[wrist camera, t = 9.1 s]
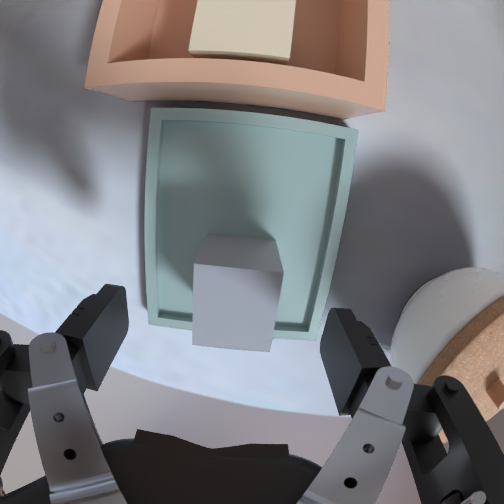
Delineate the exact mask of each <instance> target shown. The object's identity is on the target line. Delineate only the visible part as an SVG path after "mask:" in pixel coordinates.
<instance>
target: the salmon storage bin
mask: <svg viewBox="0 0 504 504" xmlns="http://www.w3.org/2000/svg"><path fill="white" fill-rule="evenodd" d="M197 2H198V0H103V2H102V5H101V9H100V13H99V16H98V20H97V24H96V28H95V32H94V36H93V41H92V46H91V50H90V55H89V61H88V66H87V72H86V79H85V85H84V88H86V89H90V90H94V91H98V92H101V93H105V94H109V95H112V96H116V97H119V98H122V99H126V100H129V101H207V102H224V103H237V104H248V105H258V106H266V107H274V108H282V109H289V110H295V111H302V112H308V113H313V114H319V115H324V116H329V117H334V118H339V119H348V118H353V117H357V116H362V115H367V114H372V113H377V112H382V111H385V106H386V94H387V80H388V62H389V0H296V5H295V14H294V24H293V34H292V43H291V52H290V59H289V61H288V63H287V65H280V64H273V63H264V62H255V61H244V60H230V59H209V58H193V56H192V55H191V53H190V52H189V51H188V50H189V44H190V38H191V32H192V27H193V22H194V16H195V11H196V7H197Z"/></svg>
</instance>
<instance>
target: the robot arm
mask: <svg viewBox="0 0 504 504" xmlns="http://www.w3.org/2000/svg"><path fill="white" fill-rule="evenodd" d="M128 326H129V319H128V309H127V299H126V290H125V288H124V286H118V285H111V284H105V285H104V286H103V287H102V288H101V290H100V291H99V292H98V293H97V294H92V295H90V296H89V297H87V298H85V299H83V300H82V301H81V303H80V304H79V305H78V306H77V308H75V309H74V311H73V312H72V314H70V315H69V316H68V318H67V319H66V320H65V321H64V322H63V324H62V325H61V326H60V327H59V328H58V330H57V331H56V332H55V333H44V334H41V335H38V336H37V337H35V338H34V339H33V340H32V341H31V342H30V344H29V345H19V344H13V342H12V339H11V337H10V335H9V334H8V333H7V332H5V331H2V330H0V475H1V472H2V470H3V468H4V465H5V463H6V460H7V458H8V456H9V453H10V451H11V449H12V447H13V444H14V442H15V440H16V438H17V436H18V434H19V432H20V430H21V428H22V425H23V423H24V421H25V419H26V417H27V416H28V413H29V412H30V410H31V416H32V421H33V427H34V432H35V436H36V441H37V445H38V449H39V453H40V457H41V461H42V465H43V468H44V471H45V474H46V476H44V477H42V478H40V479H38V480H36V481H34V482H32V483H29V484H28V485H25V486H23V487H21V488H19V489H17V490H15V491H12V492H10V493H8V494H6V495H5V492H4V490H3V483H2V479H1V477H0V504H375V503H376V501H377V499H378V497H379V495H380V492H381V490H382V488H383V486H384V484H385V481H386V479H387V477H388V475H389V472H390V470H391V467H392V465H393V462H394V460H395V457H396V455H397V452H398V449H399V447H400V444H401V441H402V444H403V447H404V450H405V453H406V456H407V458H408V461H409V465H410V468H411V471H412V474H413V477H414V480H415V484H416V487H417V490H418V493H419V497H420V500H421V504H504V455H503V453H502V451H501V449H500V447H499V445H498V443H497V441H496V439H495V437H494V436H493V434H492V432H491V430H490V428H489V427H488V425H487V423H486V421H485V420H484V418H483V416H482V414H481V413H480V411H479V409H478V408H477V406H476V404H475V403H474V401H473V399H472V398H471V396H470V394H469V393H468V391H467V390H466V388H465V386H464V385H463V384H462V383H461V382H460V381H459V380H457V379H456V378H454V377H451V376H447V375H442V376H439V377H437V378H436V379H435V381H434V383H433V384H432V386H427V385H420V384H414V382H413V379H412V378H411V376H410V375H409V374H408V373H407V372H405V371H404V370H402V369H400V368H397V367H392V366H391V364H390V362H389V361H388V359H387V357H386V355H385V354H384V352H383V350H382V348H381V347H380V346H379V343H378V342H377V340H376V339H375V336H374V335H373V333H372V331H371V330H370V328H368V327H367V326H366V325H365V324H364V323H362V322H361V321H357V320H356V318H355V316H354V314H353V312H352V311H351V309H345V308H331V309H330V311H329V314H328V317H327V321H326V324H325V328H324V331H323V334H322V338H321V342H320V354H321V358H322V361H323V364H324V367H325V370H326V373H327V377H328V380H329V383H330V386H331V389H332V393H333V396H334V399H335V403H336V406H337V409H338V413H339V416H341V415H351V417H352V420H351V423H350V424H349V425H348V427H347V429H346V431H345V432H344V434H343V436H342V438H341V439H340V441H339V442H338V444H337V446H336V447H335V449H334V450H333V452H332V453H331V455H330V457H329V458H328V460H327V461H326V463H325V464H324V466H323V467H321V466H319V465H317V464H316V463H314V462H312V461H310V460H307V459H305V458H302V457H299V456H295V455H290V454H289V450H288V445H287V444H246V445H239V446H232V447H224V448H216V449H211V448H206V447H203V446H200V445H197V444H194V443H191V442H188V441H186V440H183V439H180V438H177V437H175V436H171V435H165V434H159V433H154V432H149V431H144V430H139V429H137V432H136V435H135V438H134V439H121V440H116V441H112V442H108V443H105V444H103V443H102V441H101V439H100V436H99V434H98V432H97V429H96V427H95V424H94V422H93V419H92V417H91V414H90V411H89V408H88V405H87V403H86V400H85V397H84V392H85V390H86V388H88V389H91V390H95V391H98V389H99V387H100V385H101V383H102V381H103V379H104V376H105V375H106V373H107V371H108V369H109V367H110V365H111V363H112V361H113V359H114V357H115V355H116V353H117V351H118V350H119V348H120V346H121V344H122V342H123V340H124V338H125V336H126V334H127V331H128ZM442 429H443V431H444V433H445V435H446V438H447V440H448V442H449V452H448V454H447V453H446V450H445V448H444V446H443V443H442V441H441V439H440V437H439V432H440V431H441V430H442Z"/></svg>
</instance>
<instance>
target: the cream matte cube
mask: <svg viewBox="0 0 504 504" xmlns="http://www.w3.org/2000/svg"><path fill="white" fill-rule="evenodd" d="M295 5H296V0H198V2H197V7H196V11H195V16H194V22H193V27H192V32H191V38H190V44H189V50H188V51H189V52H190V53H191V55H192V56H193V58H209V59H230V60H244V61H255V62H264V63H273V64H280V65H287V63H288V61H289V59H290V52H291V43H292V34H293V24H294V14H295Z"/></svg>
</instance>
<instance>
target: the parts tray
mask: <svg viewBox="0 0 504 504" xmlns="http://www.w3.org/2000/svg"><path fill="white" fill-rule="evenodd" d="M357 137H358V130H356V129H352V128H347V127H343V126H338V125H333V124H328V123H322V122H317V121H311V120H305V119H299V118H293V117H286V116H279V115H271V114H262V113H253V112H243V111H232V110H218V109H200V108H151V112H150V122H149V133H148V146H147V161H146V180H145V274H146V294H147V309H148V322H149V324H150V325H156V326H163V327H170V328H177V329H184V330H192V331H193V276H194V262H195V260H196V258H197V256H198V253H199V251H200V249H201V247H202V244H203V242H204V240H205V238H206V236H207V234H208V233H211V234H221V235H231V236H241V237H251V238H260V239H270V240H276V243H277V247H278V251H279V255H280V259H281V263H282V267H283V271H284V275H283V281H282V287H281V293H280V299H279V304H278V310H277V316H276V321H275V327H274V332H273V338H276V339H293V340H315V341H316V338H317V335H318V331H319V328H320V324H321V320H322V316H323V313H324V309H325V305H326V301H327V297H328V293H329V289H330V284H331V280H332V276H333V272H334V267H335V263H336V258H337V254H338V249H339V244H340V239H341V234H342V229H343V224H344V219H345V214H346V208H347V203H348V197H349V191H350V185H351V179H352V173H353V166H354V159H355V152H356V145H357Z"/></svg>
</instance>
